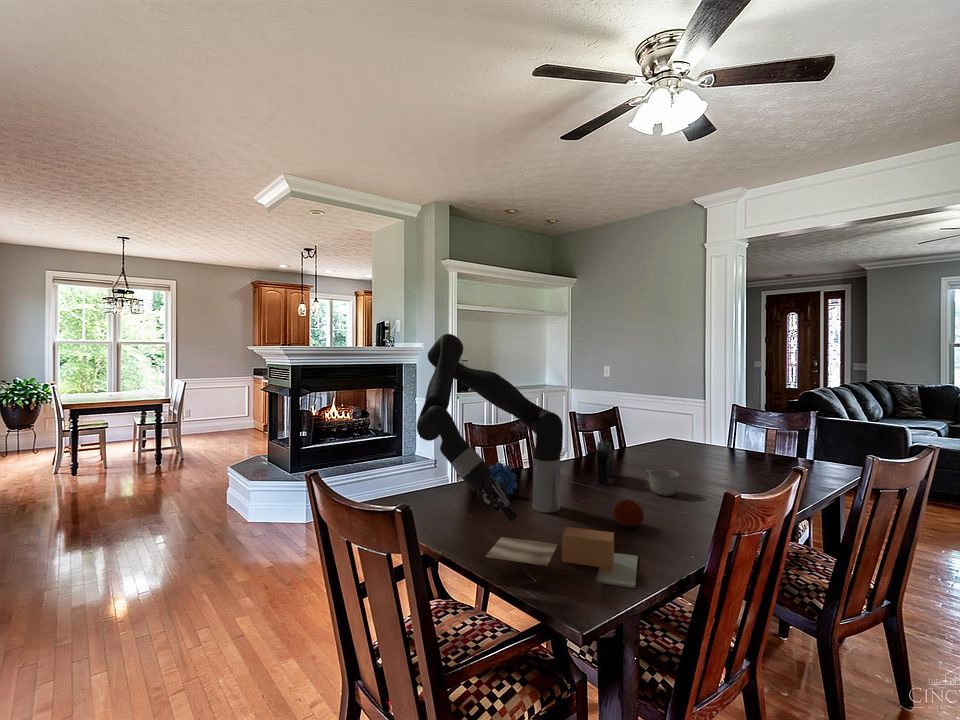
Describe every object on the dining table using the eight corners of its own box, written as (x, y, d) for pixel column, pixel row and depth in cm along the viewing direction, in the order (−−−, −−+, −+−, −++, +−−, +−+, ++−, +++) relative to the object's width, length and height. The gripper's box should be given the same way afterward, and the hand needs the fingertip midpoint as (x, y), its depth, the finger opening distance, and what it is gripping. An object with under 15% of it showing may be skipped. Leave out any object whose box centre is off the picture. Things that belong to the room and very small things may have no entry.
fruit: (607, 523, 153) (607, 497, 153) (630, 519, 156) (630, 494, 156) (625, 533, 145) (625, 506, 145) (649, 529, 148) (649, 502, 148)
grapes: (483, 496, 182) (483, 463, 181) (489, 491, 188) (489, 460, 188) (514, 499, 178) (514, 466, 178) (519, 494, 184) (519, 462, 184)
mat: (560, 547, 134) (560, 545, 134) (637, 558, 127) (637, 555, 127) (548, 574, 118) (548, 572, 118) (635, 588, 111) (635, 585, 111)
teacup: (685, 496, 181) (686, 474, 181) (662, 499, 177) (662, 477, 177) (659, 486, 194) (659, 466, 194) (637, 489, 190) (637, 468, 190)
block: (566, 555, 128) (566, 526, 127) (613, 562, 124) (614, 532, 123) (561, 564, 122) (562, 535, 122) (611, 572, 118) (611, 541, 118)
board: (501, 542, 138) (501, 536, 138) (557, 549, 133) (557, 544, 133) (485, 562, 125) (485, 556, 125) (547, 571, 120) (547, 565, 120)
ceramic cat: (609, 486, 194) (609, 436, 194) (592, 485, 197) (592, 435, 196) (614, 474, 213) (615, 428, 212) (599, 473, 215) (599, 427, 215)
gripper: (471, 471, 141) (511, 518, 137) (453, 483, 128) (497, 536, 125) (489, 454, 139) (530, 502, 135) (472, 465, 126) (518, 518, 123)
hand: (514, 518), depth 130 cm, fingers closed
